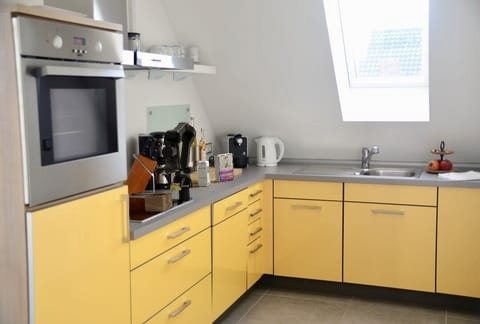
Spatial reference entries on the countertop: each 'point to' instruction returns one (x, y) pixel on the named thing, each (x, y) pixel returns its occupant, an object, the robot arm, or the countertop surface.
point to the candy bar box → (224, 167)
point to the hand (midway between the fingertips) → (175, 187)
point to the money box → (158, 202)
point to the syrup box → (203, 173)
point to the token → (175, 187)
